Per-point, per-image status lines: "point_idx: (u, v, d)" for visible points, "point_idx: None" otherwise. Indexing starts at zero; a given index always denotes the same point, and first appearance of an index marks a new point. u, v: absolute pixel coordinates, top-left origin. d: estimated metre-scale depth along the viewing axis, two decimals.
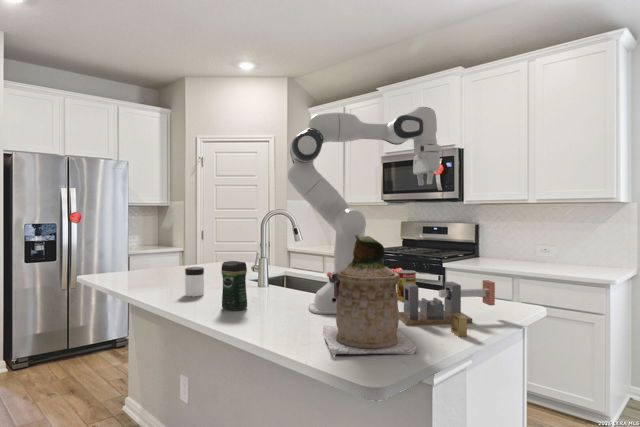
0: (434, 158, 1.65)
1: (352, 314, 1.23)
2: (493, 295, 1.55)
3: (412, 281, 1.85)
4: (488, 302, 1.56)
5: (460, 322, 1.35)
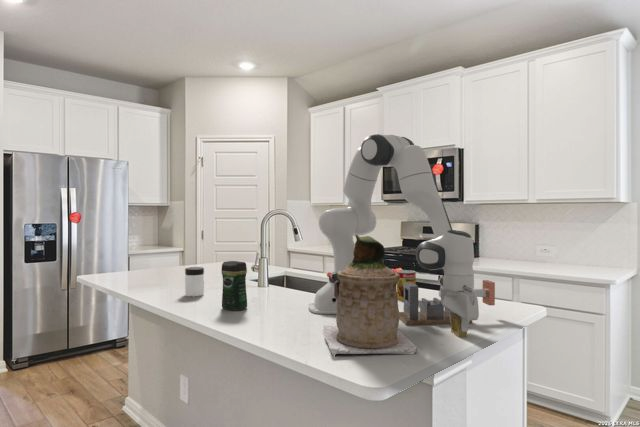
0: None
1: (352, 314, 1.23)
2: (493, 295, 1.55)
3: (412, 281, 1.85)
4: (488, 302, 1.56)
5: (460, 322, 1.35)
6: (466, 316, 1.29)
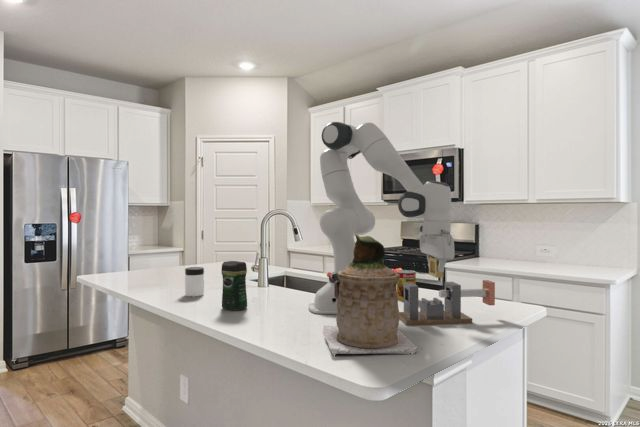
0: None
1: (352, 314, 1.23)
2: (493, 295, 1.55)
3: (412, 281, 1.85)
4: (488, 302, 1.56)
5: (438, 263, 1.48)
6: (443, 256, 1.42)
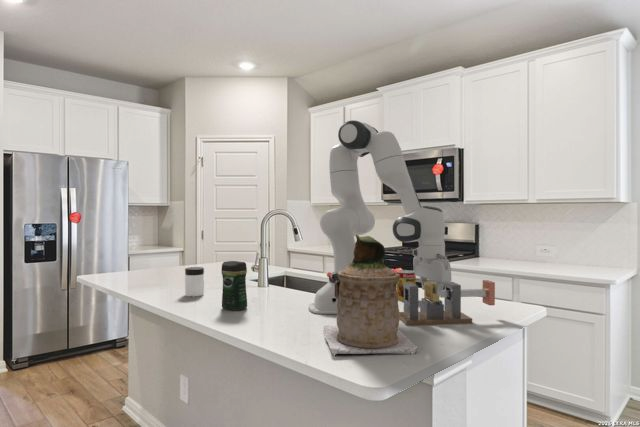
0: None
1: (352, 314, 1.23)
2: (493, 295, 1.55)
3: (412, 281, 1.85)
4: (488, 302, 1.56)
5: (434, 288, 1.53)
6: (440, 280, 1.46)
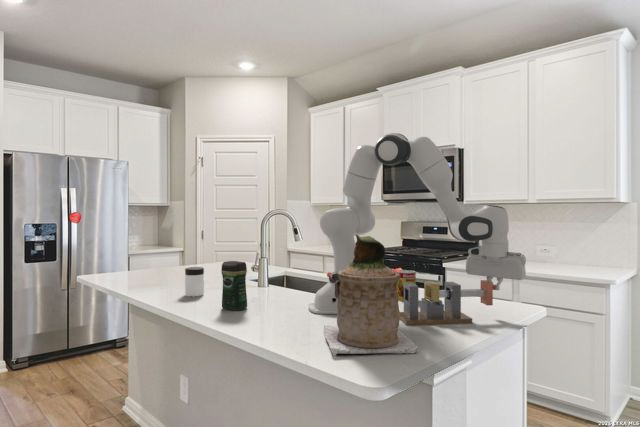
0: None
1: (353, 314, 1.23)
2: (490, 295, 1.55)
3: (412, 281, 1.85)
4: (486, 302, 1.56)
5: (434, 288, 1.53)
6: (519, 276, 1.51)
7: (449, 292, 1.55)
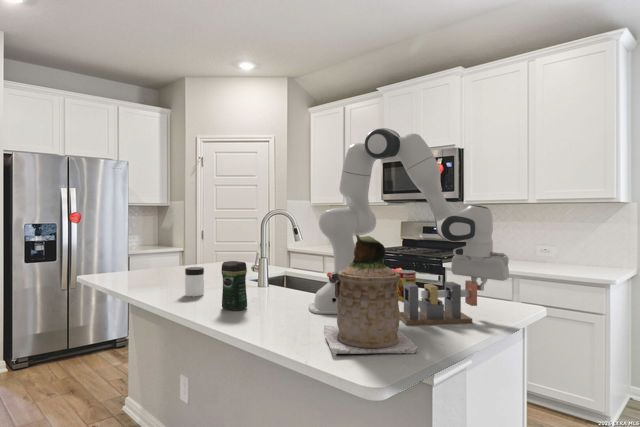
0: None
1: (353, 314, 1.23)
2: (475, 296, 1.55)
3: (412, 281, 1.85)
4: (470, 303, 1.55)
5: (432, 291, 1.53)
6: (502, 277, 1.50)
7: None
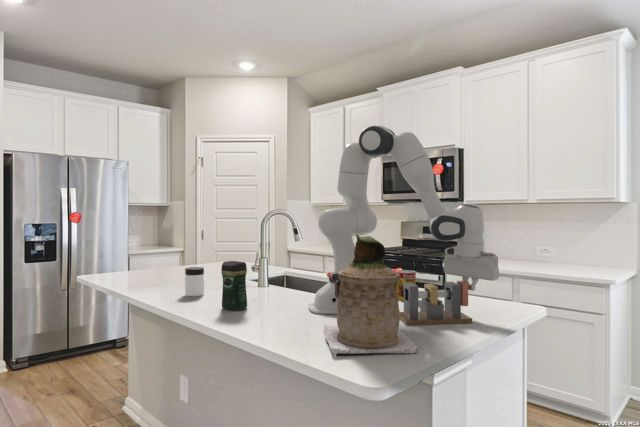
0: None
1: (353, 314, 1.23)
2: (466, 296, 1.54)
3: (412, 281, 1.85)
4: (461, 303, 1.55)
5: (432, 291, 1.53)
6: (491, 277, 1.49)
7: (424, 293, 1.54)
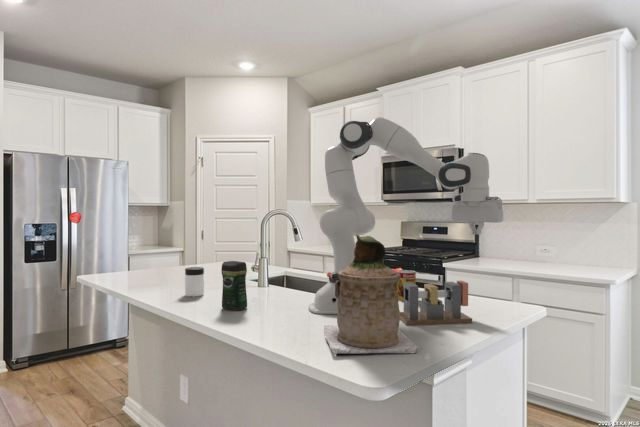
0: None
1: (353, 314, 1.23)
2: (466, 296, 1.54)
3: (412, 281, 1.85)
4: (461, 303, 1.55)
5: (432, 291, 1.53)
6: (495, 219, 1.57)
7: (424, 293, 1.54)
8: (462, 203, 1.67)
